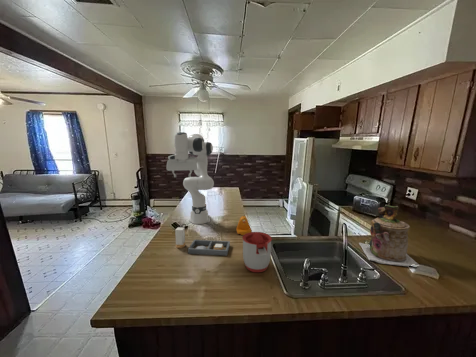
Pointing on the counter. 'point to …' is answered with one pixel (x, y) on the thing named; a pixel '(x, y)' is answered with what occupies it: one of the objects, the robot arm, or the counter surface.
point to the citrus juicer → (256, 251)
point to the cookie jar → (388, 239)
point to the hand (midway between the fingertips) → (182, 176)
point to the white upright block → (180, 237)
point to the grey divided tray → (209, 247)
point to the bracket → (243, 226)
